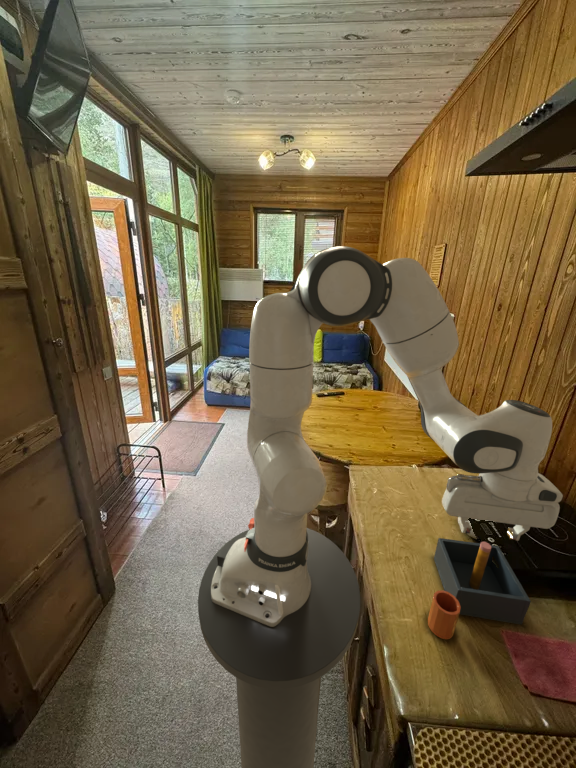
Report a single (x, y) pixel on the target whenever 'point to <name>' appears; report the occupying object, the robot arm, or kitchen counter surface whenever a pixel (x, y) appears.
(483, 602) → the bin
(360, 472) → the kitchen counter surface
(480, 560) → the pencil
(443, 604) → the pen cup
